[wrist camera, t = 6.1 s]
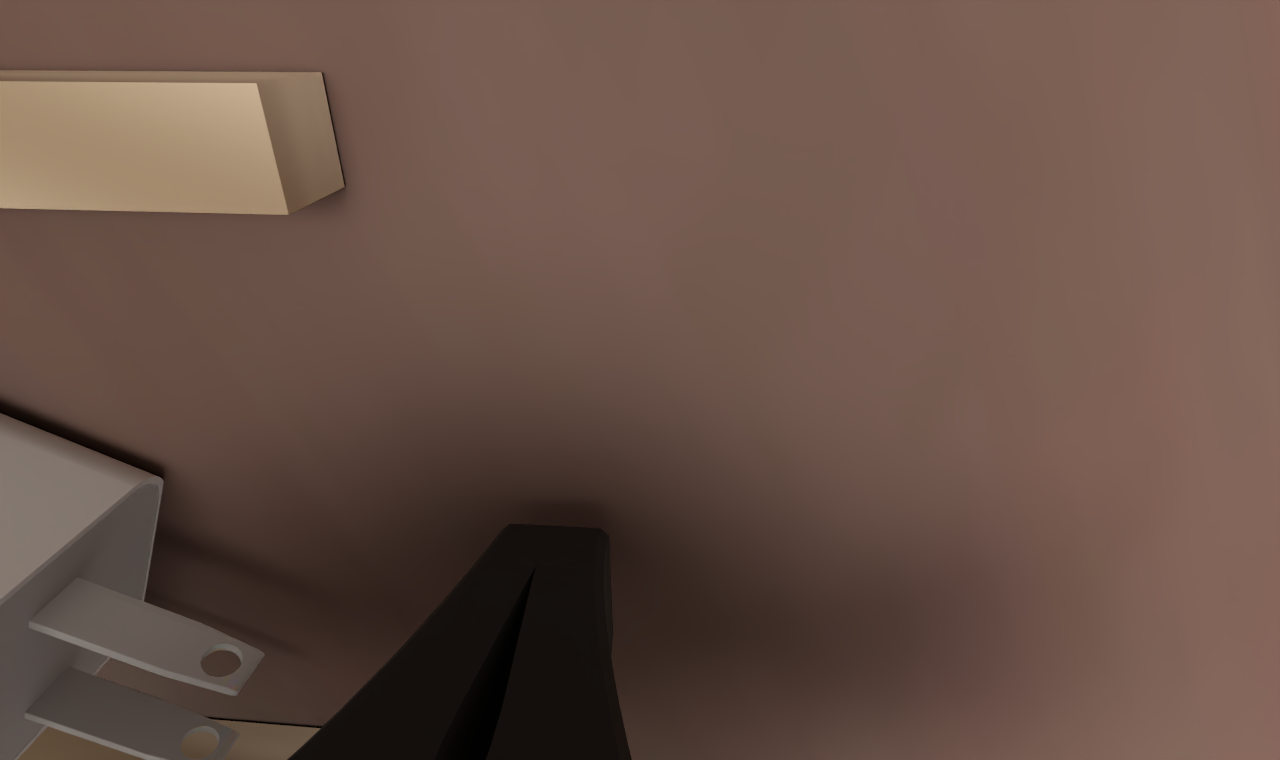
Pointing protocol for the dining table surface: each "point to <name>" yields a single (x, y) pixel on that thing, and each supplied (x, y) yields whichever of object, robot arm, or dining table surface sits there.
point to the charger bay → (167, 206)
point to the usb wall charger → (92, 605)
